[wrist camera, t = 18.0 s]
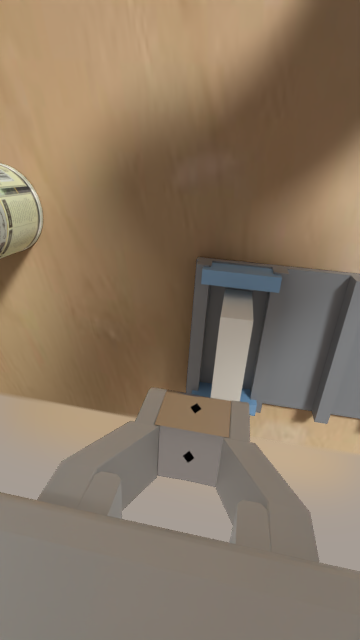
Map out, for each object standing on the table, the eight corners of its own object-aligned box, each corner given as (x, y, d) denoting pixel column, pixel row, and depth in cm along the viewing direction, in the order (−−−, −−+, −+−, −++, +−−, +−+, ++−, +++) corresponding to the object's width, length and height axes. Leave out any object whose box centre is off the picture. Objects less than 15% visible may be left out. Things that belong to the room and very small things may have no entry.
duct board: (198, 256, 38) (192, 266, 34) (447, 282, 34) (471, 296, 31) (187, 386, 46) (182, 405, 42) (390, 418, 42) (403, 442, 38)
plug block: (225, 288, 38) (220, 316, 31) (252, 291, 37) (253, 321, 30) (214, 376, 43) (207, 418, 36) (237, 379, 42) (236, 423, 35)
